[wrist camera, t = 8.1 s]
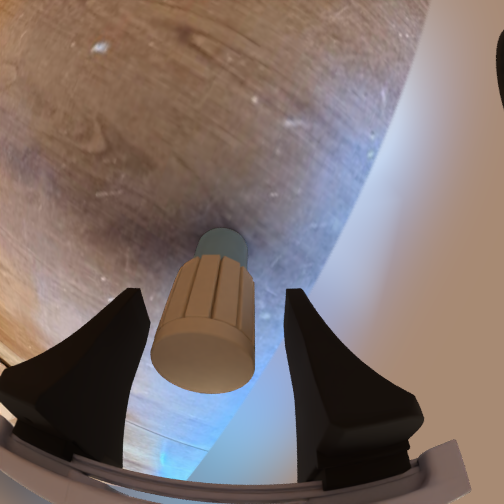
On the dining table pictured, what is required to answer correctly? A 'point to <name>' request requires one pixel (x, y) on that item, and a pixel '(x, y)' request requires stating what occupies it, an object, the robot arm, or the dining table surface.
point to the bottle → (223, 245)
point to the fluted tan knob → (208, 327)
